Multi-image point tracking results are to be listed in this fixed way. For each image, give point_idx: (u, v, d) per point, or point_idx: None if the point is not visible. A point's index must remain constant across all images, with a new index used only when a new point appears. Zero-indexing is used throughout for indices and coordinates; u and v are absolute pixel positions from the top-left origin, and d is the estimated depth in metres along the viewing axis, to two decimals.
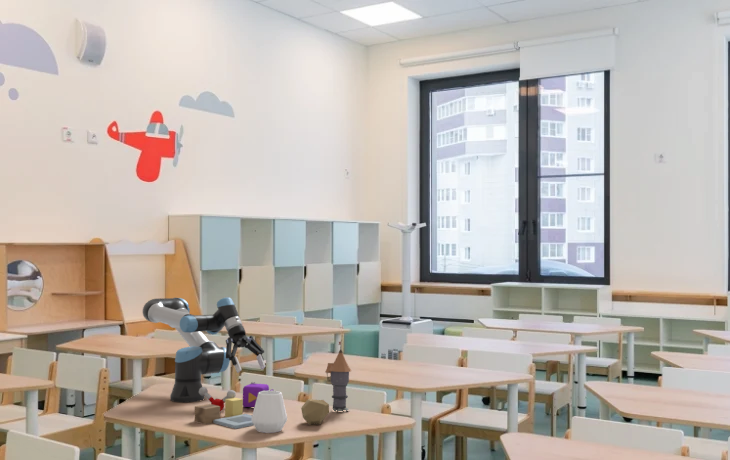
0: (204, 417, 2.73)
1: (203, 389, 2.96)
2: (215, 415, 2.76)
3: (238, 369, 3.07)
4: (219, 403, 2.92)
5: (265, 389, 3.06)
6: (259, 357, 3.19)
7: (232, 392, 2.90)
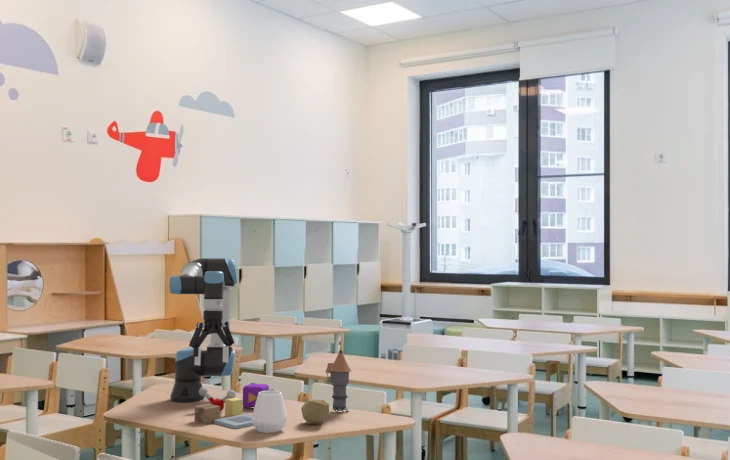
0: (204, 417, 2.73)
1: (203, 389, 2.96)
2: (215, 415, 2.76)
3: (197, 363, 2.74)
4: (219, 403, 2.92)
5: (265, 389, 3.06)
6: (226, 349, 2.84)
7: (232, 392, 2.90)
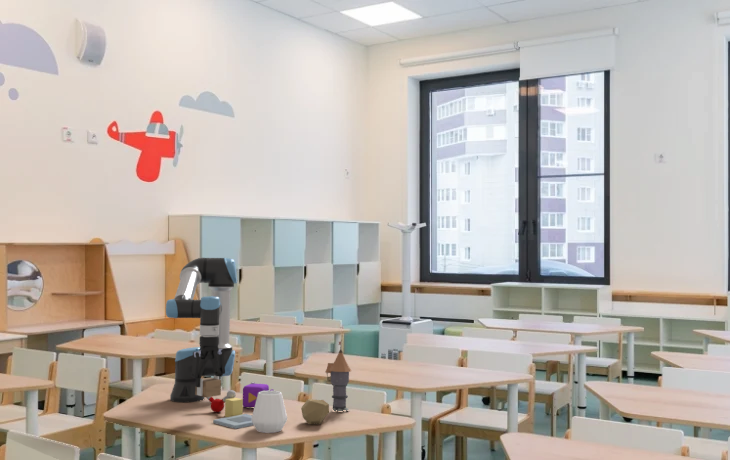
0: (205, 390, 2.74)
1: None
2: (216, 389, 2.77)
3: (199, 393, 2.75)
4: (219, 403, 2.92)
5: (265, 389, 3.06)
6: None
7: (232, 392, 2.90)
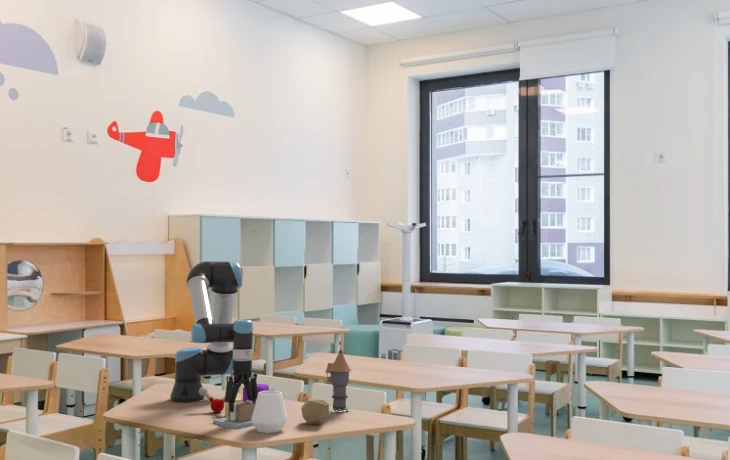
0: (239, 415, 2.71)
1: (203, 389, 2.96)
2: (249, 413, 2.74)
3: (232, 418, 2.73)
4: (219, 403, 2.92)
5: (265, 389, 3.06)
6: None
7: None
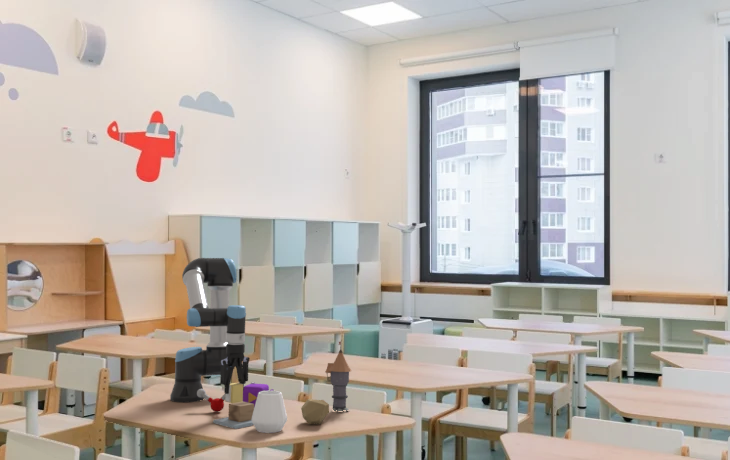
0: (239, 415, 2.71)
1: (201, 391, 2.95)
2: (249, 413, 2.74)
3: (227, 399, 2.85)
4: (219, 402, 2.92)
5: (265, 389, 3.06)
6: None
7: None
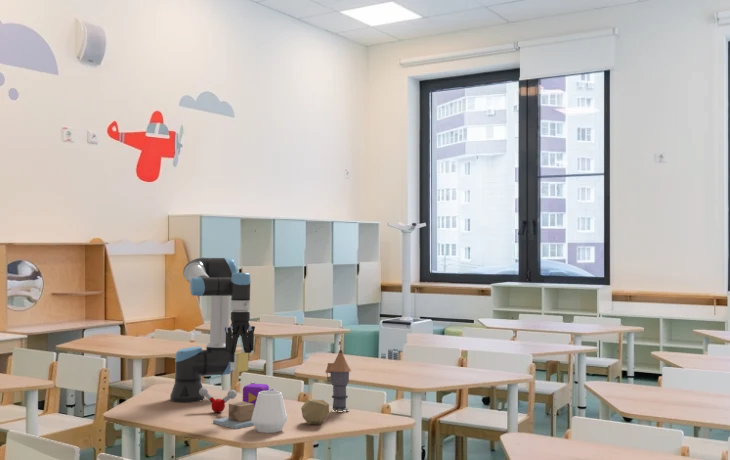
0: (239, 415, 2.71)
1: (203, 389, 2.95)
2: (249, 413, 2.74)
3: (233, 368, 2.78)
4: (220, 403, 2.92)
5: (265, 389, 3.06)
6: None
7: (233, 392, 2.90)
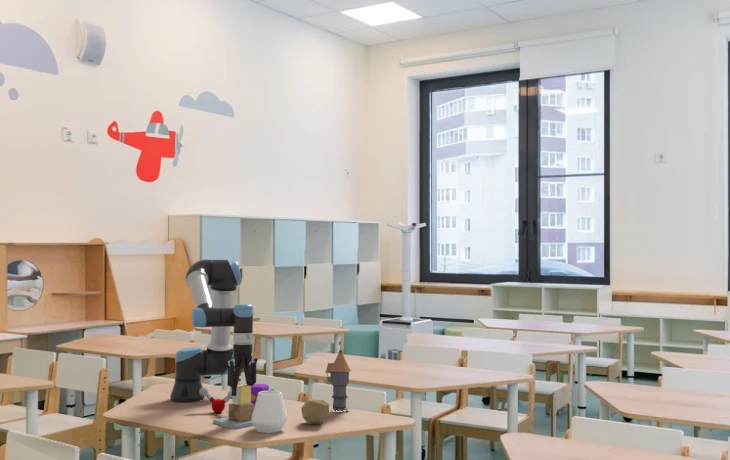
0: (239, 415, 2.71)
1: (204, 389, 2.95)
2: (249, 413, 2.74)
3: (235, 402, 2.74)
4: (220, 403, 2.92)
5: (265, 389, 3.06)
6: None
7: None
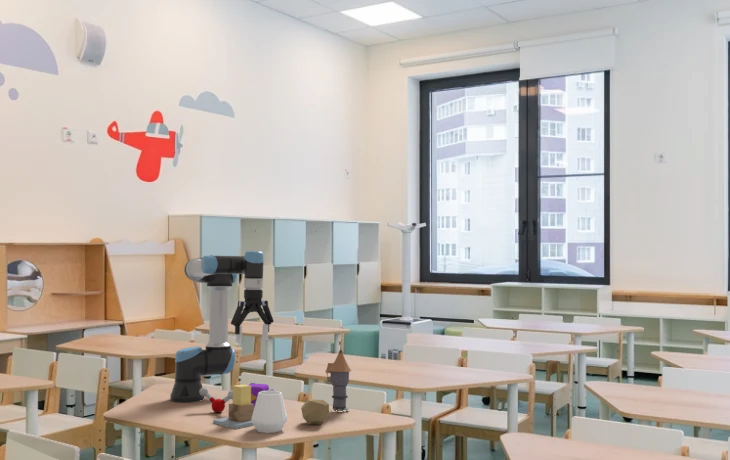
0: (239, 415, 2.71)
1: (204, 389, 2.95)
2: (249, 413, 2.74)
3: (238, 340, 2.81)
4: (220, 403, 2.92)
5: (265, 389, 3.06)
6: (265, 327, 2.91)
7: None
